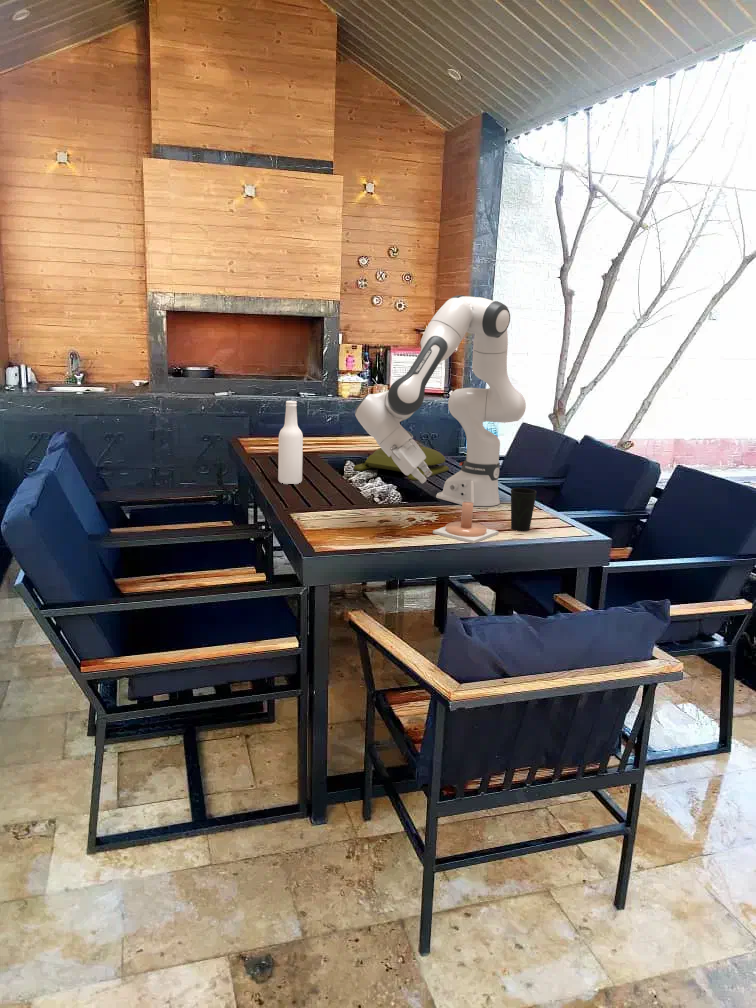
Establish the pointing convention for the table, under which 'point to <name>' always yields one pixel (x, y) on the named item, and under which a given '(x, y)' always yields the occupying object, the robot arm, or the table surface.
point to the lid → (466, 524)
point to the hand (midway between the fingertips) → (427, 478)
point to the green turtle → (384, 462)
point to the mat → (443, 532)
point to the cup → (522, 508)
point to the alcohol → (290, 448)
